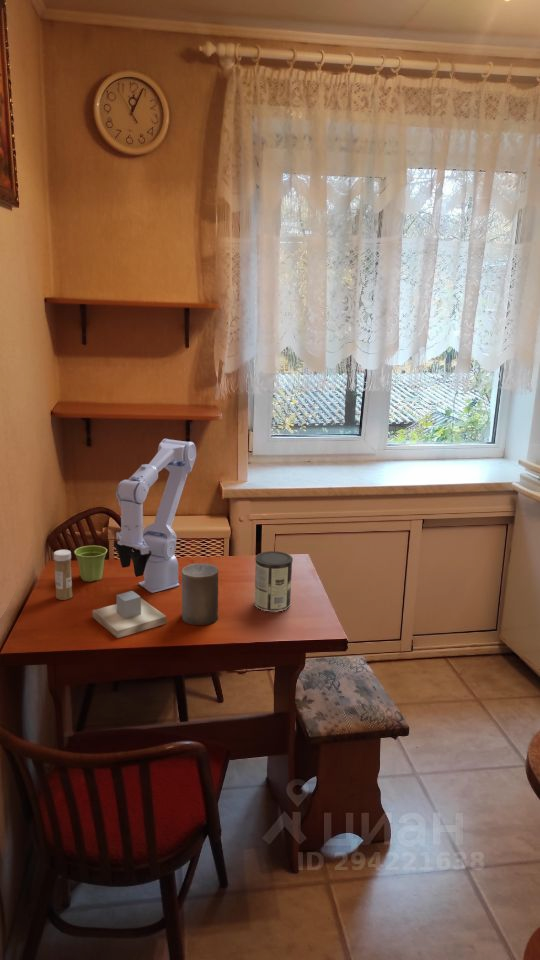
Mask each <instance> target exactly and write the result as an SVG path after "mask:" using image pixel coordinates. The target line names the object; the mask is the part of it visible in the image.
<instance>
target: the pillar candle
mask: <svg viewBox="0 0 540 960" xmlns="http://www.w3.org/2000/svg"><path fill="white" fill-rule="evenodd" d="M218 612H219V569H218V567H217V566H216V565H214V564H210V563H203V562H201V563H199V562H198V563H192V564H187V565H186V566H184V567H183V568H182V569H181V618H182V620H183V622H184V623H186V624H188V625H192V626H206V625H207V626H208V625H211V624H213V623H215V622H217V621H218V618H219V613H218Z"/></svg>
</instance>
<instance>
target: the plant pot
mask: <svg viewBox="0 0 540 960" xmlns="http://www.w3.org/2000/svg"><path fill="white" fill-rule="evenodd" d="M73 552H74V555H75V556H76V559H77V563H78V569H79V575H80V579H82V581H83V582H90V583H91V582H94V581H99V580H101V579H102V578H103V574H104V573H103V571H104V565H105V564H104V563H105V558H106V554H107V553H108V549H107V548H106V547H104V546H102V545H85V546H80V547H78V548H76V549H74V551H73Z"/></svg>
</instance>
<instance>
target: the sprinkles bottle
mask: <svg viewBox="0 0 540 960" xmlns="http://www.w3.org/2000/svg"><path fill="white" fill-rule="evenodd" d="M71 559H72V552H71V550H68V549H58V550H55V551H54V552H53V560H54V578H55V579H54V580H55V581H54V582H55V591H56V592H55V593H56V594H55V598H56V599H58V600H61V601H63V600H64V601H66V600H69V599H71V598H72V597H73V596H74V595H73V588H72V587H73V582H72V580H73V579H72V567H71V565H72V564H71V561H72V560H71Z"/></svg>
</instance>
